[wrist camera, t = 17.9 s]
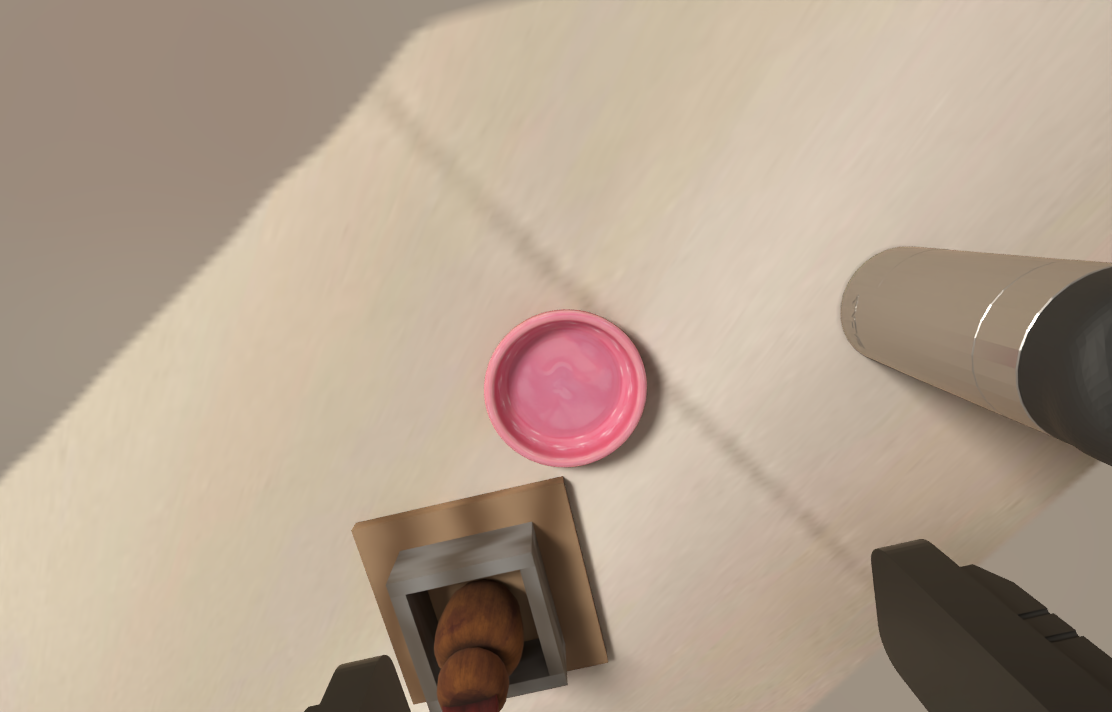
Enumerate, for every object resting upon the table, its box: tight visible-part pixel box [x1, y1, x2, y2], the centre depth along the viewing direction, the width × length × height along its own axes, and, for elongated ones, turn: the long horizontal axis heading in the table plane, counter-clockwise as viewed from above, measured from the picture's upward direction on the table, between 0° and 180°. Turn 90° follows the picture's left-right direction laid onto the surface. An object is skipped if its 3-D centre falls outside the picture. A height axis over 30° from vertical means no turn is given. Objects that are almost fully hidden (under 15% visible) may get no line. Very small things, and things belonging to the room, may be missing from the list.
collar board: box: [351, 476, 608, 712], centre depth 47 cm, size 18×18×6 cm
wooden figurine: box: [434, 580, 524, 712], centre depth 42 cm, size 7×6×15 cm
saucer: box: [484, 309, 647, 467], centre depth 45 cm, size 12×12×3 cm
